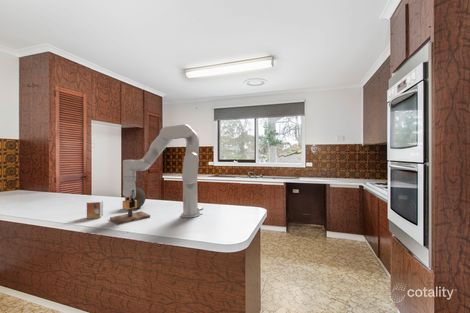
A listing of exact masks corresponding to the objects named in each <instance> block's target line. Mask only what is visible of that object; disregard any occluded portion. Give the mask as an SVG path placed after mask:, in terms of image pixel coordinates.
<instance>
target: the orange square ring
mask: <svg viewBox="0 0 470 313" xmlns="http://www.w3.org/2000/svg"><path fill="white" fill-rule="evenodd" d="M129 202H130V200H125V199H124V200H122V209H124V210H127V211H128V209H132V210H133V209H138V208H137V201H136V200H135V207H133V208H129Z"/></svg>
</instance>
